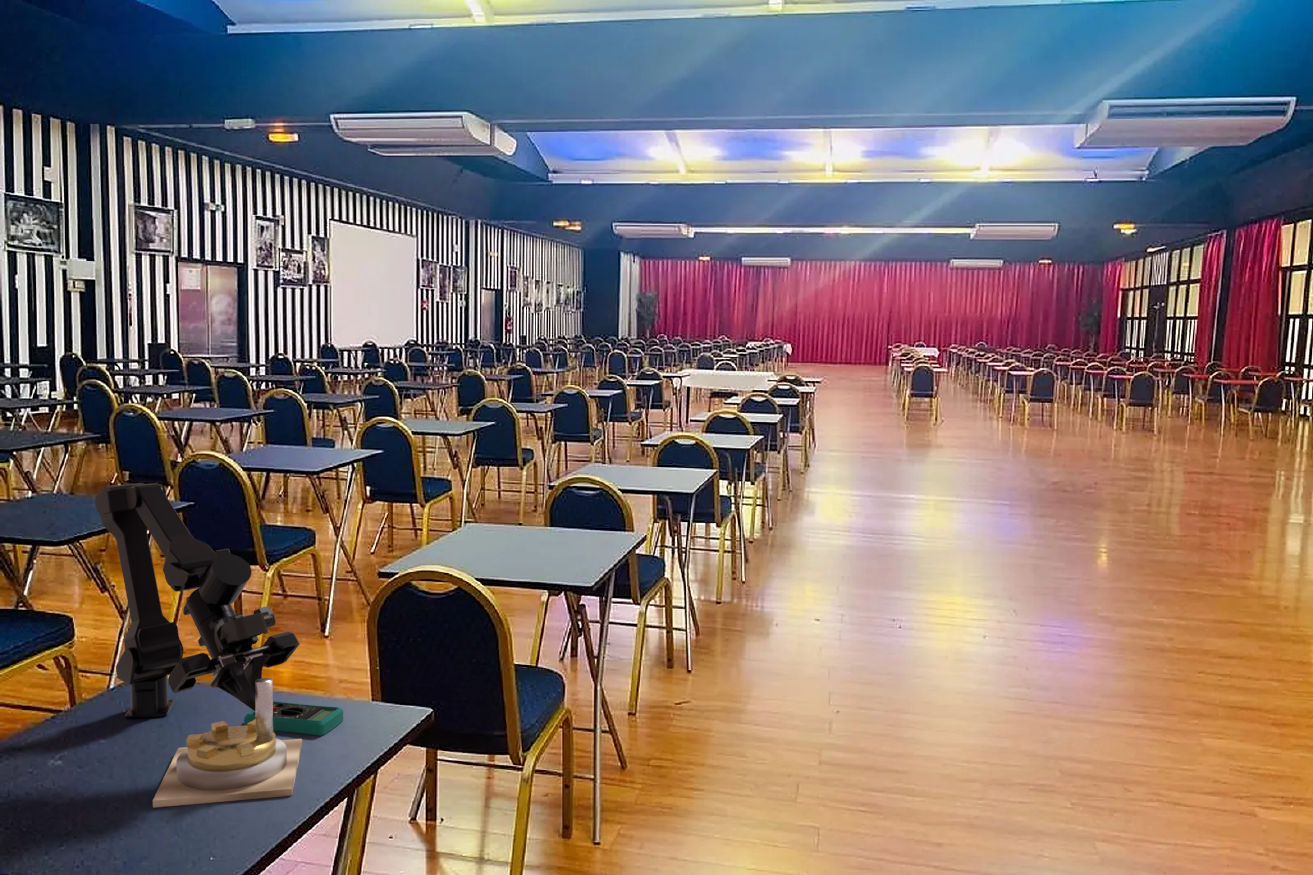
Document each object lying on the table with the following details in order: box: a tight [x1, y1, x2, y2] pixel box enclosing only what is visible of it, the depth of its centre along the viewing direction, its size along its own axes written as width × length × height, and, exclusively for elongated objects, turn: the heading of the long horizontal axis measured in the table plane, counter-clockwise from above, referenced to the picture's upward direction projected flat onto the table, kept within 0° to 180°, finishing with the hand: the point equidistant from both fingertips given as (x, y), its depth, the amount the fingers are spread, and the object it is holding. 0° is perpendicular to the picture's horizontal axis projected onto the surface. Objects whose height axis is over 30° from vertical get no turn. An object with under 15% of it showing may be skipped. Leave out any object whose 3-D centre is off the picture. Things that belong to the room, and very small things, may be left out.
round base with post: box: [185, 677, 277, 772], centre depth 150 cm, size 12×12×11 cm
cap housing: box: [152, 738, 303, 808], centre depth 151 cm, size 18×18×3 cm
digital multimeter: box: [243, 700, 344, 737], centre depth 170 cm, size 7×15×3 cm, turn 79°
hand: (259, 708), depth 152 cm, fingers closed, pressing on round base with post
